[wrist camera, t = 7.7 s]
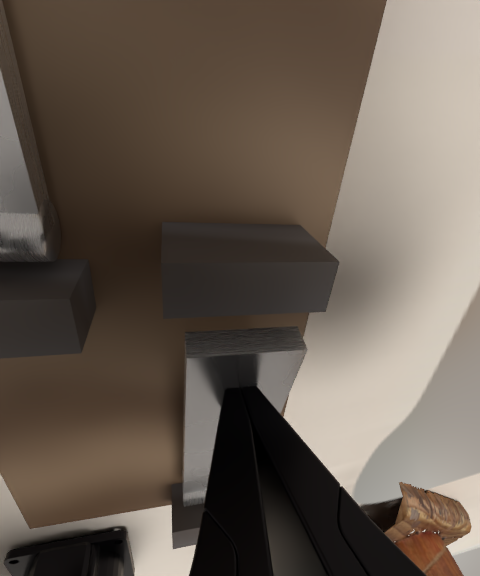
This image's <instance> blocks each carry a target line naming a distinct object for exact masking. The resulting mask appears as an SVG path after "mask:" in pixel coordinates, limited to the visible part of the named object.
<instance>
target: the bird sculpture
mask: <svg viewBox="0 0 480 576" xmlns="http://www.w3.org/2000/svg"><path fill="white" fill-rule="evenodd" d="M399 484H400V488H401V492H402V495H403V499H402V502H401V505H400V509H399V512H398V516H397V519H396V522H395V525H393V526H392V527H390V528H389V529H388V530H387V531H386V532H384V533H385V534H386V535H387V536H388V537H389V538H390V539H391V541H392V542H393V543H394V544H395V545H396V546H397V547H398V548H399V549H401V550H402V551H403V552H404V553H405V554H406V555H407V556H408V557H409V558H410V559H411V560H412V561H413V562H414V563H415V564H416V565H417V566H418V567H419V568H420V569H421V570H422V571H423V572H424V573H425V574H426V575H427V576H463V574H462V572H461V571H460V569H459V567H458V565H457V564H456V562H455V560H454V558H453V557H452V555H451V553H450V552H449V550H448V548H447V547H446V546H447V545H449V544H451V543H453V542H454V541H456V540H457V539H458V538H462V537H463V536H464V535H466V534H468V533H469V532H470V530H471V523H470V519H469V515H468V513H467V512H466V510H465V509H464V507H463V506H462V505H461V503H460V502H457V501H454V500H451V499H448V498H447V497H445V499H444V497H443V496H441V495H438V494H436V493H434V494H433V493H432V492H430V491H427V492H426V493H425V492H424V489H422V488H420V490H419V488H418V489H417V488H416V487H415V488H414V486H413V487H412V486H411V484H403V483H402V482H400V483H399ZM413 529H414V530H415V532H414V533H411V532H412V531H414V530H413ZM425 529H426V531H425V532H422V531H424V530H425ZM434 532H436V534H435V533H434ZM438 532H439V534H438ZM410 533H411V534H410ZM408 535H410V536H408ZM395 541H396V542H395Z"/></svg>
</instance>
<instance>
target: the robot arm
mask: <svg viewBox="0 0 480 576" xmlns="http://www.w3.org/2000/svg"><path fill="white" fill-rule="evenodd" d="M4 565H5V566H6V568H7V569H8V571H9V572H10V573H11V575H12V576H134V571H135V568H134V563H133V558H132V553H131V548H130V543H129V537H128V533H127V531H125V530H118V531H112V532H107V533H102V534H96V535H91V536H85V537H80V538H74V539H69V540H63V541H58V542H53V543H47V544H42V545H36V546H31V547H25V548H20V549H14V550H11V551H9V552H8V553H7V554H6V557H5V560H4ZM189 576H427V575H426V574H425V573H424V572H423V571H422V570H421V569H420V568H419V567H418V566H417V565H416V564H415V563H414V562H413V561H412V560H411V559H410V558H409V557H408V556H407V555H406V554H405V553H404V552H403V551H402V550H401V549H399V548H398V547H397V546H396V545H395V544H394V543H393V542H392V541H391V539H390V538H389V537H388V536H387V535H386V534H385V533H384V532H383V531H382V530H381V529H380V528H379V527H378V526H377V525H376V524H375V523H374V522H373V521H372V520H371V519H370V518H369V517H368V515H367V514H366V513H365V512H364V511H363V510H362V509H361V508H360V506H359V505H358V504H357V503H356V502H355V501H354V500H353V499H352V497H351V496H350V495H349V494H348V493H347V491H346V490H345V489H344V488H343V487H342V486H341V487H340V483H339V482H338V481H337V480H336V479H335V477H334V476H333V475H332V474H331V473H330V472H329V470H328V469H327V468H326V467H325V466H324V465H323V463H322V462H321V461H320V460H319V459H318V458H317V456H316V455H315V454H314V453H313V452H312V450H311V449H310V448H309V447H308V446H307V445H306V443H305V442H304V441H303V440H302V439H301V438H300V436H299V435H298V434H297V433H296V432H295V430H294V429H293V428H292V427H291V426H290V425H289V423H288V422H287V421H286V420H285V419H284V418H283V416H282V415H281V414H280V413H279V412H278V411H277V409H276V408H275V407H274V406H273V405H272V403H271V402H270V401H269V400H268V399H267V398H266V396H265V395H264V394H263V393H262V392H261V391H260V389H259V388H258V387H257V386H248V387H242V388H239V387H238V388H227V389H224V392H223V398H222V403H221V409H220V415H219V421H218V426H217V432H216V438H215V444H214V449H213V455H212V461H211V467H210V472H209V478H208V484H207V489H206V495H205V501H204V507H203V513H202V517H201V523H200V529H199V534H198V539H197V544H196V549H195V554H194V558H193V562H192V566H191V570H190V574H189Z"/></svg>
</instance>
